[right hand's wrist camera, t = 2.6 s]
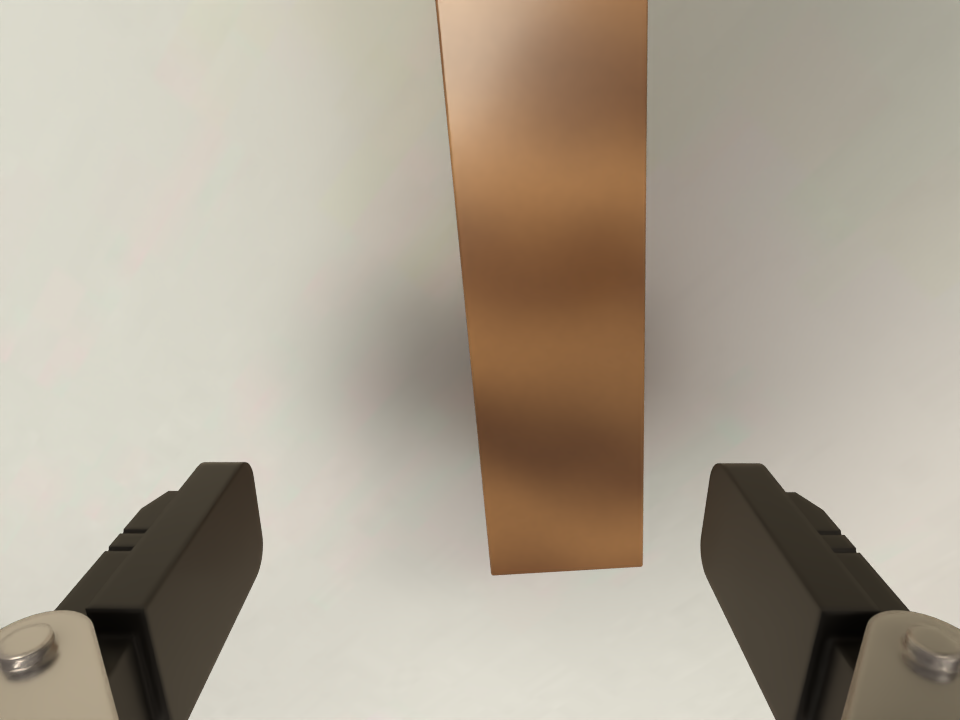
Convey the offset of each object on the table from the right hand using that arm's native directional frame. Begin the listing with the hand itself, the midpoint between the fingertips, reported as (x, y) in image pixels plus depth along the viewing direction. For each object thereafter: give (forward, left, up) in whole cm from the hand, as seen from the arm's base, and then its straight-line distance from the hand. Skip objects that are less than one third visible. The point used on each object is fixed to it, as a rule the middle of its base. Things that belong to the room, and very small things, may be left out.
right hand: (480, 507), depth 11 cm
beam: (+11, -23, -15) cm, 29 cm away
